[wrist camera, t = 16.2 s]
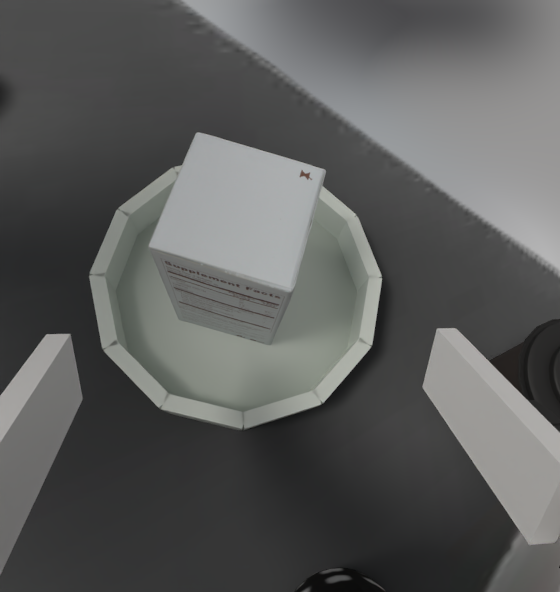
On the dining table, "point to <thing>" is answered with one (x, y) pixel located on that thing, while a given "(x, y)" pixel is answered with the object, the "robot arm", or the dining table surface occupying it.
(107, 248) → the bowl
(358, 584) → the white-spotted black cylinder
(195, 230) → the supplement box
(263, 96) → the dining table surface
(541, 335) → the coffee cup
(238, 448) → the dining table surface
